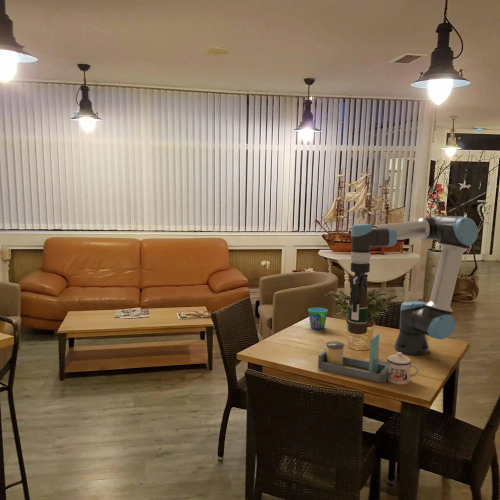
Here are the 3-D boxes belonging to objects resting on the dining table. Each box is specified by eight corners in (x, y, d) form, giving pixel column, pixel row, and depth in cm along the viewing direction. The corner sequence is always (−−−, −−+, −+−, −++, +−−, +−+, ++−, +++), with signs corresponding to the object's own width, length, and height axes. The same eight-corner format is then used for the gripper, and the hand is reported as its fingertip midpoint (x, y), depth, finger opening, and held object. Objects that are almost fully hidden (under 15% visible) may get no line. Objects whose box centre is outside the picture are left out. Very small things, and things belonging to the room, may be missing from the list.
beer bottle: (367, 335, 186) (370, 276, 183) (347, 333, 187) (349, 275, 184) (366, 329, 193) (369, 273, 190) (347, 328, 195) (349, 272, 192)
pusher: (392, 373, 189) (394, 335, 187) (386, 381, 182) (388, 342, 180) (375, 370, 193) (376, 333, 191) (368, 377, 185) (370, 339, 183)
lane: (392, 373, 191) (393, 359, 190) (384, 383, 181) (385, 368, 180) (328, 359, 205) (329, 346, 204) (318, 368, 195) (318, 355, 194)
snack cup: (304, 323, 260) (305, 306, 258) (322, 323, 261) (323, 305, 259) (311, 332, 244) (312, 313, 243) (331, 331, 245) (331, 313, 244)
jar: (342, 364, 200) (343, 341, 199) (343, 370, 193) (343, 347, 192) (326, 362, 202) (326, 340, 200) (325, 369, 195) (326, 346, 193)
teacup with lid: (385, 383, 181) (387, 355, 180) (386, 375, 190) (387, 347, 188) (418, 388, 177) (419, 358, 176) (417, 378, 186) (419, 351, 185)
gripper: (359, 258, 197) (357, 310, 200) (342, 264, 180) (340, 321, 183) (376, 259, 193) (374, 313, 196) (361, 266, 176) (359, 324, 179)
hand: (358, 317), depth 189 cm, fingers closed on beer bottle, 7 cm apart
